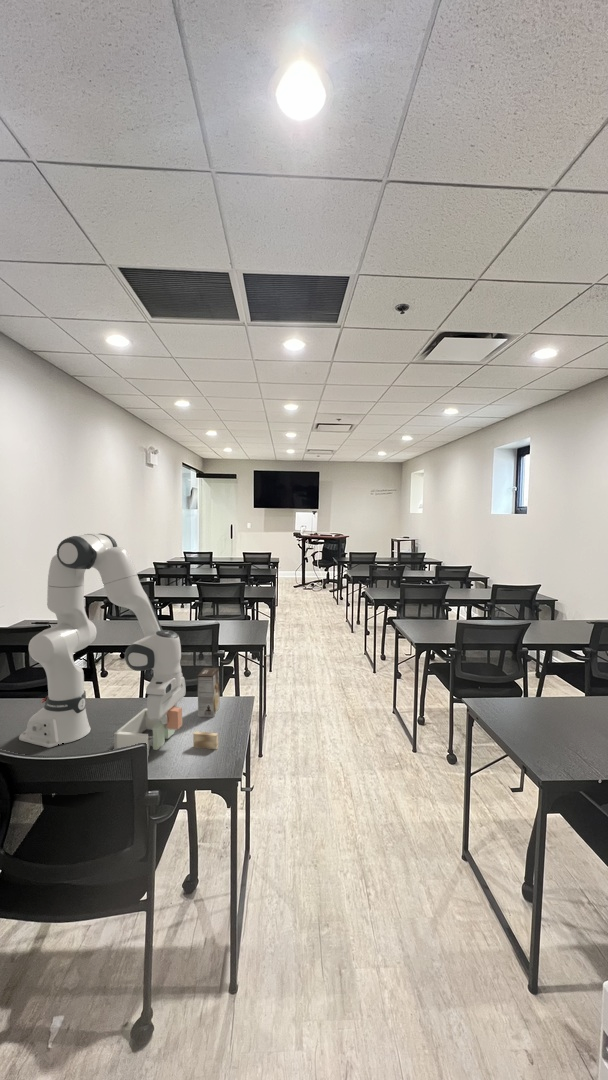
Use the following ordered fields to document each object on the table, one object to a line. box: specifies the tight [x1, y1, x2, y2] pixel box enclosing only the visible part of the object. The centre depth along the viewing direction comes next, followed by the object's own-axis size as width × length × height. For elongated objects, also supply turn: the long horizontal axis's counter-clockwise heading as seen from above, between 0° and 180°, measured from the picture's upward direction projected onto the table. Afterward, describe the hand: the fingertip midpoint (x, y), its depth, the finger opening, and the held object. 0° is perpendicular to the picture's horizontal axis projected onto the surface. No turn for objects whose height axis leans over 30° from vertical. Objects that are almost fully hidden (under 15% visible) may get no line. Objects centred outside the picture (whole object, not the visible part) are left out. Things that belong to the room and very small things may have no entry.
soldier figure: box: [148, 735, 153, 750], centre depth 152 cm, size 8×5×12 cm
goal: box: [113, 707, 162, 757], centre depth 152 cm, size 11×19×7 cm, turn 170°
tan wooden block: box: [192, 731, 219, 750], centre depth 148 cm, size 8×2×5 cm, turn 80°
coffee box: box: [196, 667, 221, 718], centre depth 174 cm, size 9×6×16 cm
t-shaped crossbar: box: [152, 706, 183, 751], centre depth 150 cm, size 6×12×11 cm, turn 170°
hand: (168, 720), depth 150 cm, fingers closed on t-shaped crossbar, 3 cm apart
